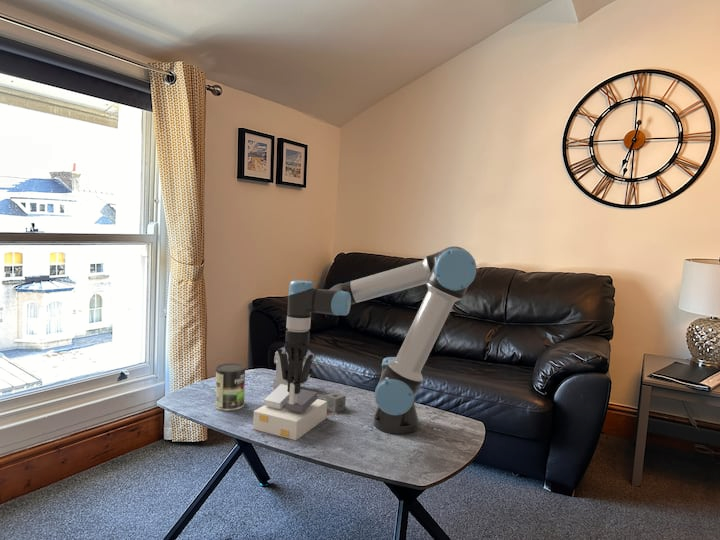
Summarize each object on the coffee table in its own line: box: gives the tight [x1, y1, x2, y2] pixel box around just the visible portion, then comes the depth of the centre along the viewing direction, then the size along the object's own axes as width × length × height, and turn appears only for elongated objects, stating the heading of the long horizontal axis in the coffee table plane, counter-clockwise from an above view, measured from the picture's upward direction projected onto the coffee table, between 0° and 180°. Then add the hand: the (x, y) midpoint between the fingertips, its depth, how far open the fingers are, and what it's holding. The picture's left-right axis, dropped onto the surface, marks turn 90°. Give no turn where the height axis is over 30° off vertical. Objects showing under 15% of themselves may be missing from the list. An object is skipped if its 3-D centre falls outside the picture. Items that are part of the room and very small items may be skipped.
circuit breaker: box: [272, 350, 314, 390], centre depth 197 cm, size 8×14×15 cm, turn 78°
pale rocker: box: [263, 384, 289, 410], centre depth 164 cm, size 6×10×2 cm, turn 156°
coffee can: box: [214, 362, 246, 412], centre depth 176 cm, size 10×10×14 cm
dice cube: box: [325, 391, 347, 414], centre depth 179 cm, size 5×5×5 cm
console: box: [252, 398, 328, 441], centre depth 164 cm, size 16×20×7 cm
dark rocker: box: [286, 388, 318, 413], centre depth 161 cm, size 6×10×2 cm, turn 156°
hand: (292, 402), depth 157 cm, fingers closed
